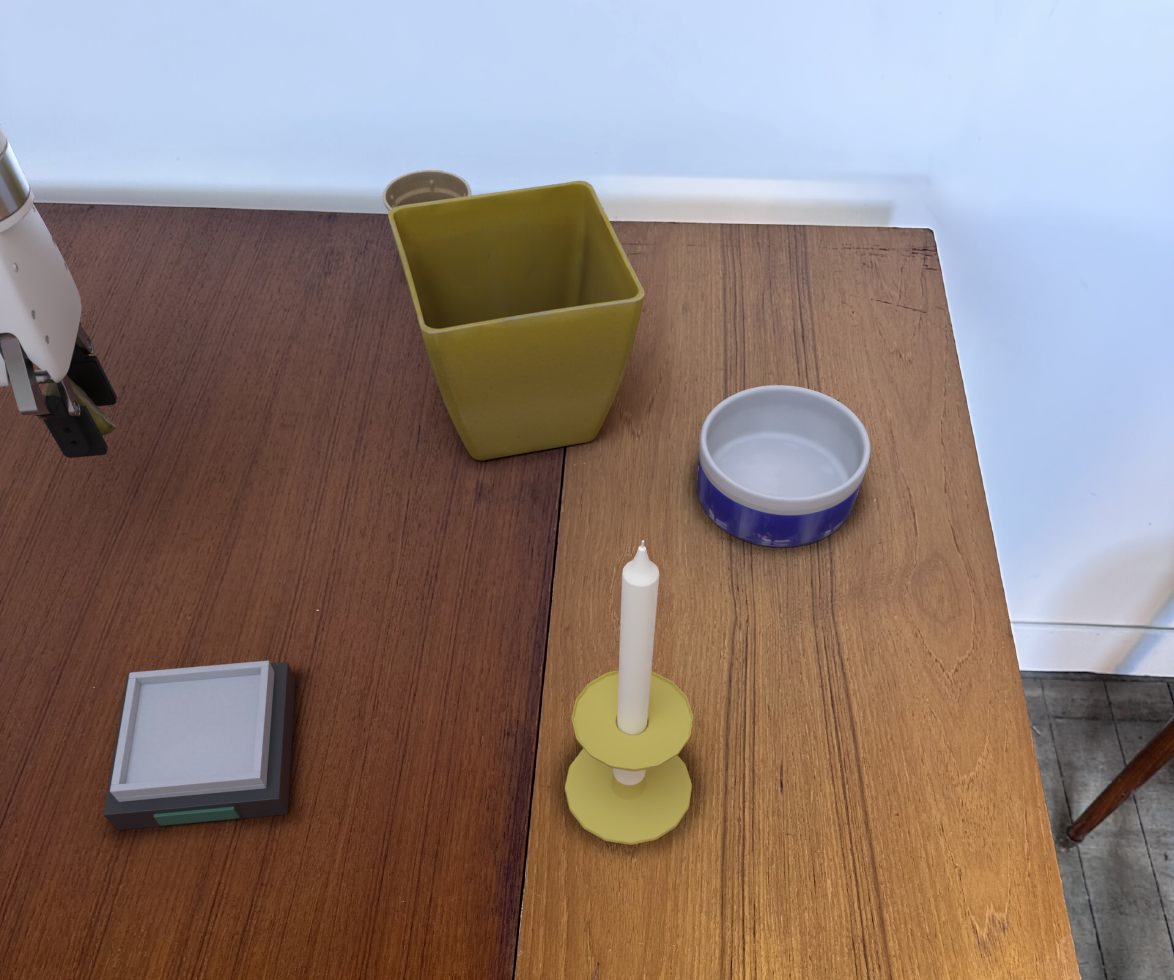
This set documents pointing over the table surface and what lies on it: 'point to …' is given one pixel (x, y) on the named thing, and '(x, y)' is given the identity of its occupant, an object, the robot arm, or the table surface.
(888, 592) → the table surface
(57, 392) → the lime
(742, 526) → the dog bowl
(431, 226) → the flower pot
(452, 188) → the flower pot
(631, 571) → the candle
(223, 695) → the scale
